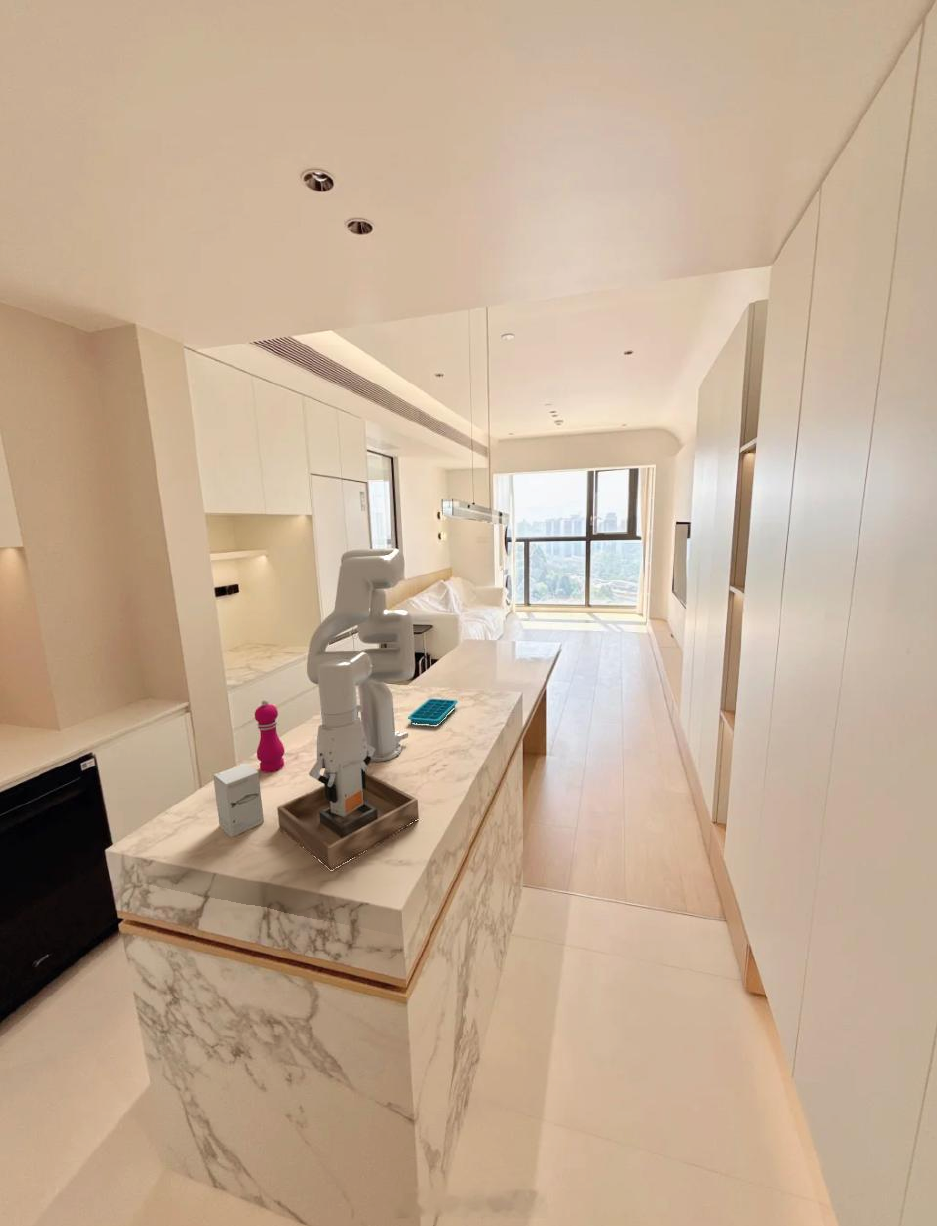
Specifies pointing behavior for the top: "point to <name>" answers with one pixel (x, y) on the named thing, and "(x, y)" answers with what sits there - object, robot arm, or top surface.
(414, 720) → the ice cube tray
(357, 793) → the skincare box
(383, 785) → the walled box
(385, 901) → the top surface
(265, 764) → the pepper mill
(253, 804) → the supplement box
